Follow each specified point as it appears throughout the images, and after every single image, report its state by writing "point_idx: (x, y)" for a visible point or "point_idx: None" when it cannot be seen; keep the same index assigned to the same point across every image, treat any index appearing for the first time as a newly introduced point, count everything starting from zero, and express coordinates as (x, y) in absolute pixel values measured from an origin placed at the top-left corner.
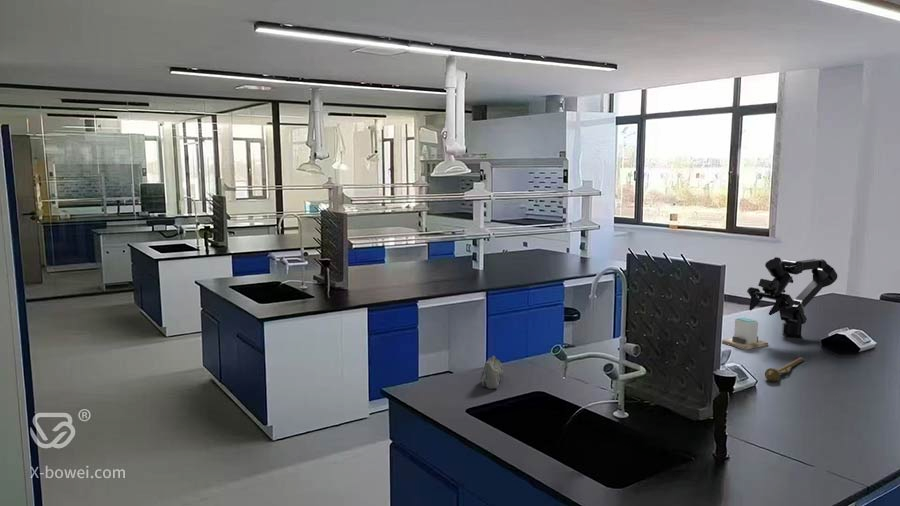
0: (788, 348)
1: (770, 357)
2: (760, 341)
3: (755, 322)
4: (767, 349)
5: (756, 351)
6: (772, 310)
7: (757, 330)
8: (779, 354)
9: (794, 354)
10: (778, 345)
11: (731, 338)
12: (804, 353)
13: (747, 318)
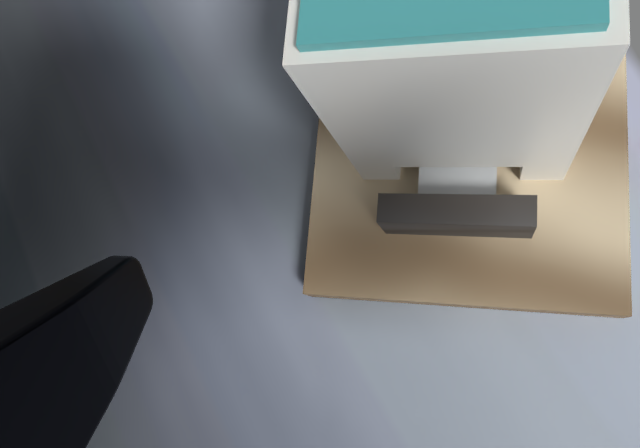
0: (156, 373)
1: (126, 12)
2: (371, 258)
3: (290, 5)
4: (243, 170)
5: (262, 36)
6: (7, 311)
7: (326, 126)
8: (122, 136)
9: (57, 243)
10: (257, 390)
11: (623, 68)
12: None
13: (500, 21)
